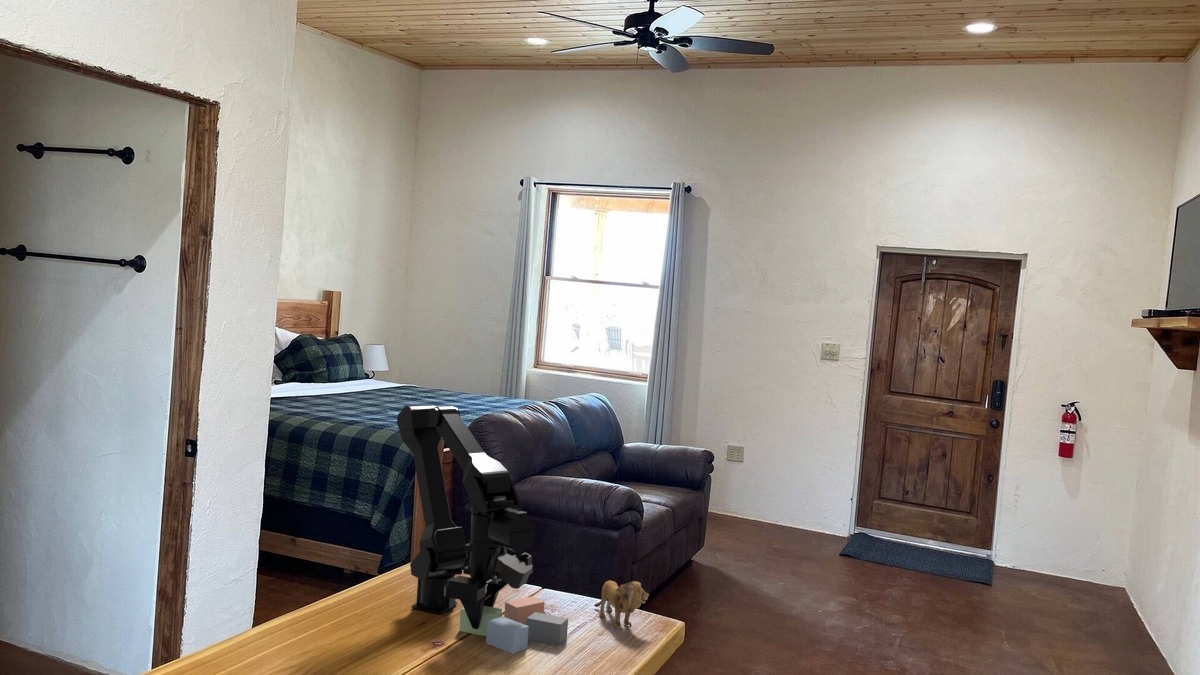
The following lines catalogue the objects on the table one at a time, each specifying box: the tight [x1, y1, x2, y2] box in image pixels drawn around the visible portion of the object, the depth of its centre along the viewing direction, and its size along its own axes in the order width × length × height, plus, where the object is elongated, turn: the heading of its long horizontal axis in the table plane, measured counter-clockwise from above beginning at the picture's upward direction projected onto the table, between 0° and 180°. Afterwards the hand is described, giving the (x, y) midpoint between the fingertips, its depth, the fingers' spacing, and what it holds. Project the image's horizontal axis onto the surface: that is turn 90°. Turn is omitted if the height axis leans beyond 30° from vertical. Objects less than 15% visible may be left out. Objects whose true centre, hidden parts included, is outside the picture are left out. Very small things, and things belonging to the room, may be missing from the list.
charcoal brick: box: [527, 612, 569, 647], centre depth 164 cm, size 6×4×4 cm, turn 71°
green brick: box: [458, 606, 503, 637], centre depth 166 cm, size 6×4×4 cm, turn 71°
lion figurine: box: [594, 579, 650, 629], centre depth 176 cm, size 15×5×9 cm, turn 34°
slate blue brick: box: [485, 616, 529, 655], centre depth 160 cm, size 6×4×4 cm, turn 51°
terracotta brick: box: [503, 595, 546, 625], centre depth 172 cm, size 6×4×4 cm, turn 131°
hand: (480, 625), depth 166 cm, fingers closed on green brick, 4 cm apart
